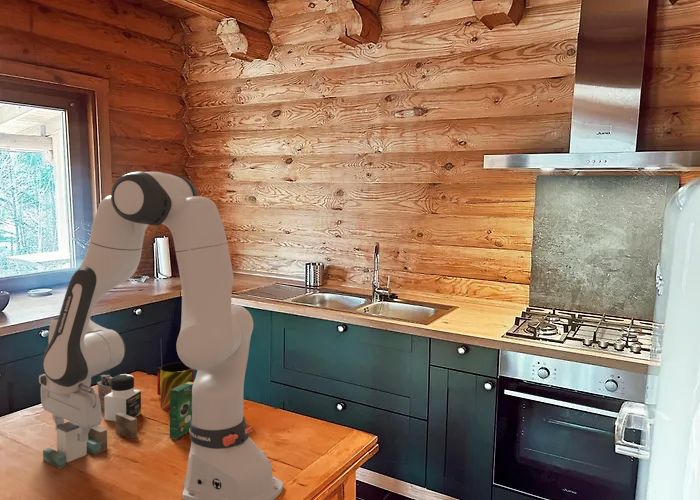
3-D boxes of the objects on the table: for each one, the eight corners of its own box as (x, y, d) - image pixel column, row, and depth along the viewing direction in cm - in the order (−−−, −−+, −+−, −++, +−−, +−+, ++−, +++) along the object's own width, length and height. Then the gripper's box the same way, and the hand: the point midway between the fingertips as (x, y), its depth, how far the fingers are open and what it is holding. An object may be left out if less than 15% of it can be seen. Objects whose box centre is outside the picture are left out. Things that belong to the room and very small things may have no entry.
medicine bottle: (126, 423, 149) (126, 381, 148) (104, 420, 150) (103, 379, 149) (141, 413, 156) (141, 373, 155) (119, 410, 157) (119, 371, 156)
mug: (158, 397, 169) (158, 360, 168) (199, 401, 166) (199, 363, 165) (141, 408, 159) (141, 369, 158) (184, 413, 157) (183, 373, 156)
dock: (137, 437, 140) (136, 418, 140) (59, 468, 123) (58, 447, 123) (120, 430, 144) (120, 412, 144) (43, 459, 127) (42, 439, 126)
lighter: (94, 406, 159) (94, 374, 159) (105, 403, 162) (105, 371, 161) (110, 413, 155) (109, 380, 154) (120, 410, 158) (120, 377, 157)
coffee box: (187, 426, 148) (187, 380, 147) (196, 427, 147) (196, 381, 146) (168, 438, 140) (168, 389, 139) (178, 439, 139) (178, 391, 138)
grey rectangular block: (86, 454, 130) (86, 423, 129) (66, 462, 126) (65, 430, 125) (77, 450, 132) (76, 418, 132) (57, 457, 128) (56, 425, 127)
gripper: (108, 385, 125) (109, 442, 126) (60, 368, 136) (61, 421, 137) (82, 393, 119) (83, 452, 120) (34, 375, 130) (36, 429, 131)
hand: (71, 435), depth 129 cm, fingers open, 8 cm apart
